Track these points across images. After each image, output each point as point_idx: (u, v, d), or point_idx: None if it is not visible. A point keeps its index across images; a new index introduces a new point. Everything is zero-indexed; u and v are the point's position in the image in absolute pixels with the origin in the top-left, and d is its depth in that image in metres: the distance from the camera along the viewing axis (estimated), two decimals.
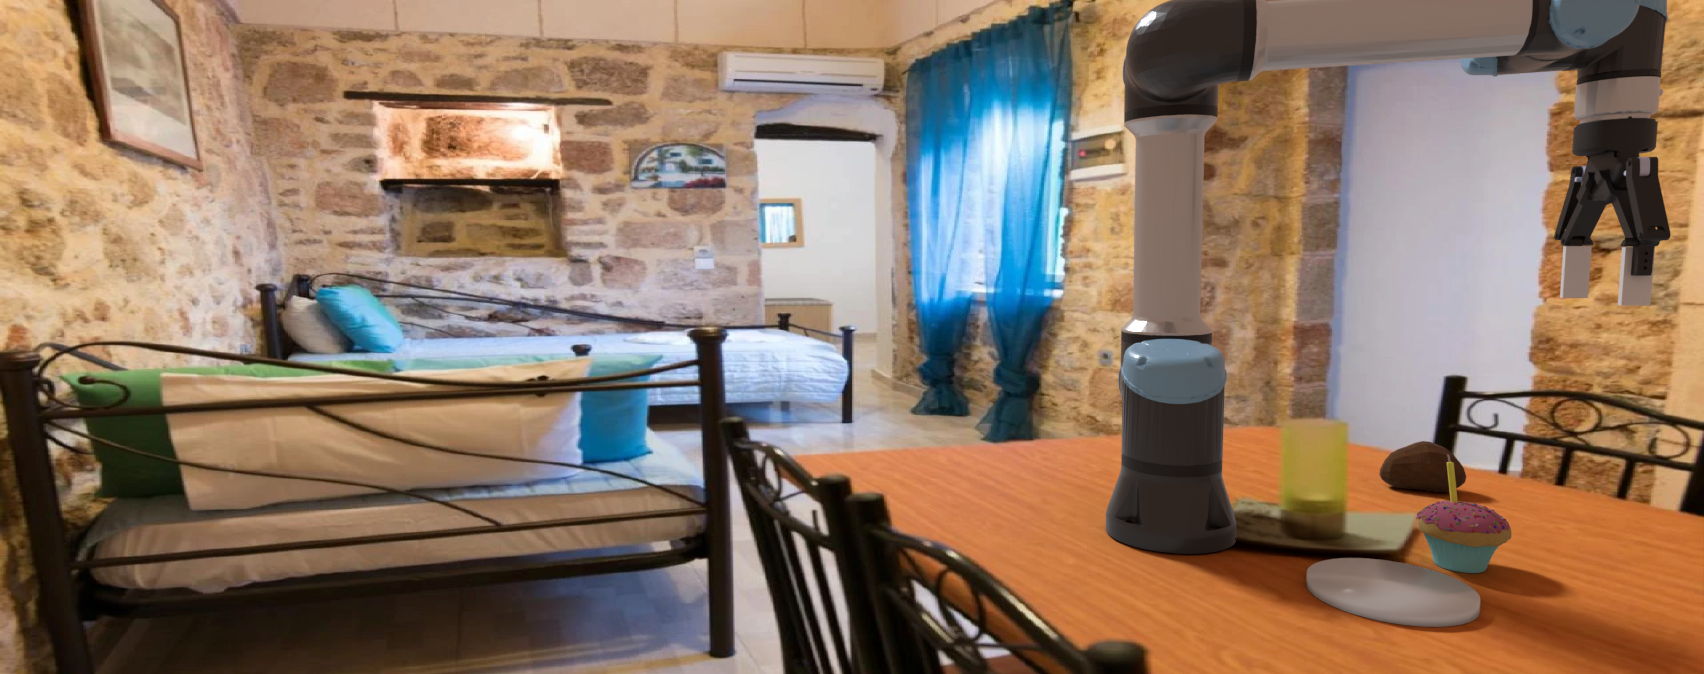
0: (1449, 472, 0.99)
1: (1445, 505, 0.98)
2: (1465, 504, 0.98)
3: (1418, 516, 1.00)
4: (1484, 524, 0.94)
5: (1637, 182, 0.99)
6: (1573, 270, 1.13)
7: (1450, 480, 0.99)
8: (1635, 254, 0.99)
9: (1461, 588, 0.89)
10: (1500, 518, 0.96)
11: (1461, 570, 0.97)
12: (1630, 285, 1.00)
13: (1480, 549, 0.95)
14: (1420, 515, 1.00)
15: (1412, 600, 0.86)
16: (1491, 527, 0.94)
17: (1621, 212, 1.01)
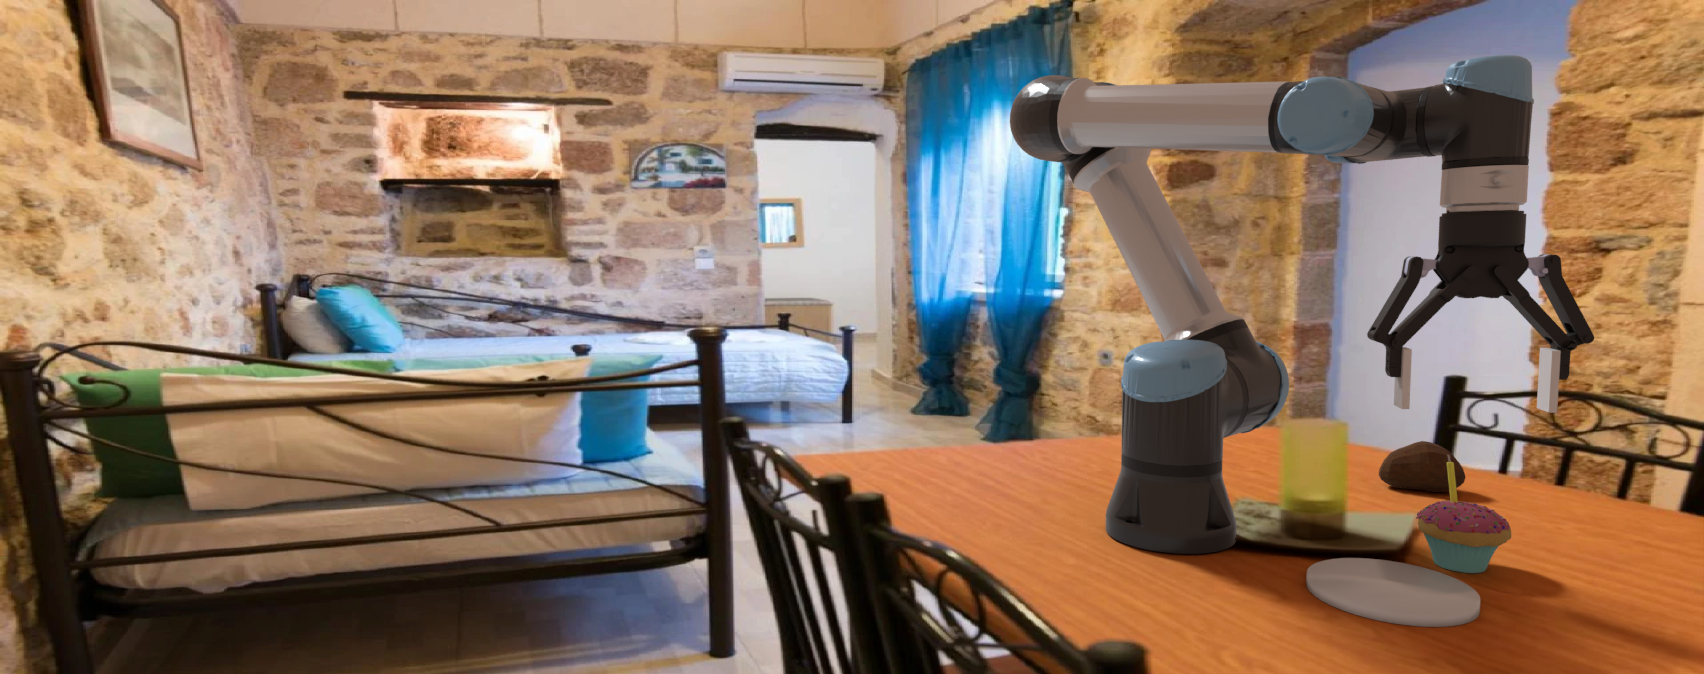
0: (1449, 472, 0.99)
1: (1445, 505, 0.98)
2: (1465, 504, 0.98)
3: (1418, 516, 1.00)
4: (1484, 524, 0.94)
5: (1398, 282, 0.98)
6: (1542, 377, 0.95)
7: (1450, 480, 0.99)
8: None
9: (1461, 588, 0.89)
10: (1500, 518, 0.96)
11: (1461, 570, 0.97)
12: (1396, 385, 0.99)
13: (1480, 549, 0.95)
14: (1420, 515, 1.00)
15: (1412, 600, 0.86)
16: (1491, 527, 0.94)
17: None
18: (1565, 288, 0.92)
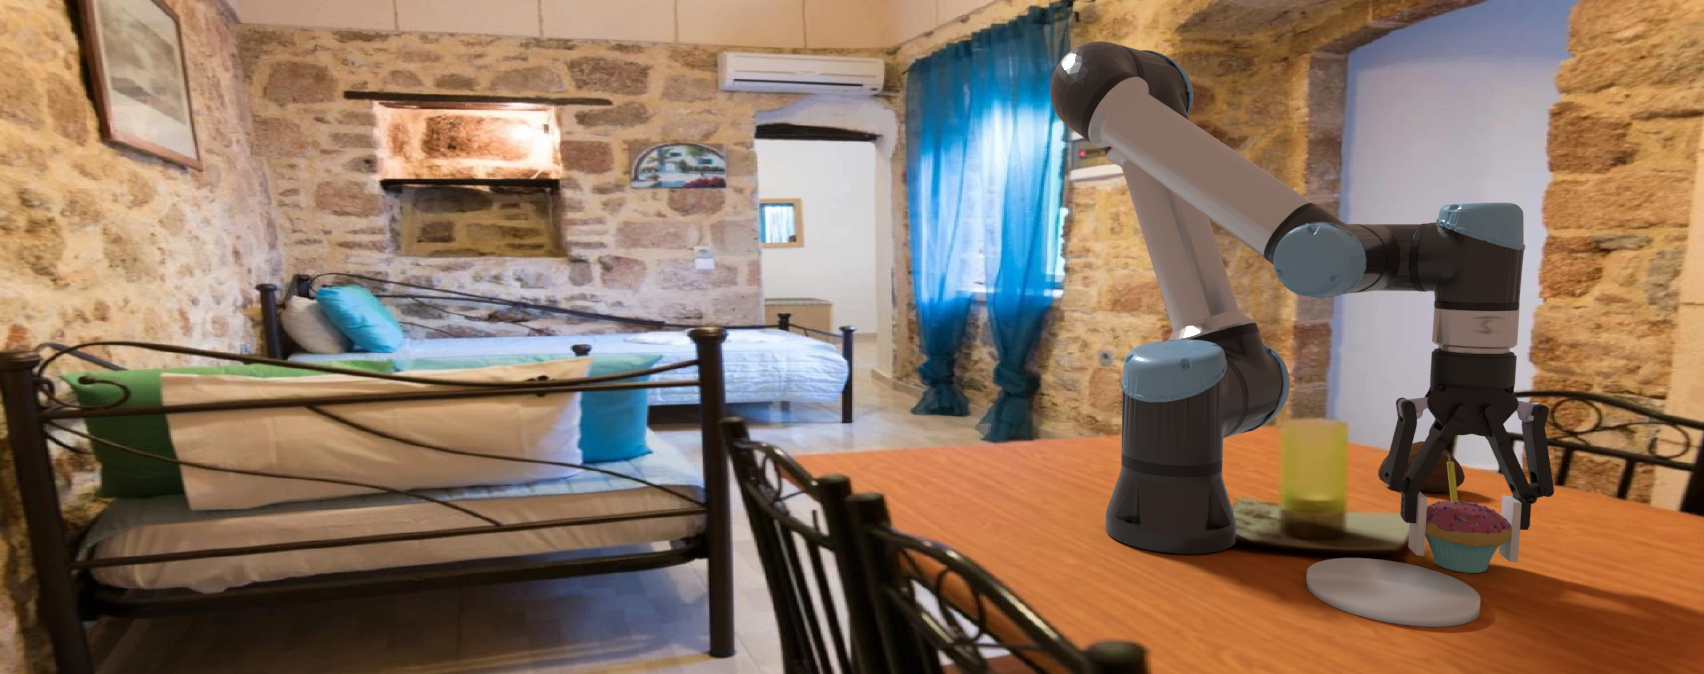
0: (1449, 472, 0.99)
1: (1445, 505, 0.98)
2: (1465, 504, 0.98)
3: None
4: (1484, 523, 0.94)
5: (1397, 424, 1.00)
6: None
7: (1450, 480, 0.99)
8: None
9: (1461, 588, 0.89)
10: (1500, 518, 0.96)
11: (1462, 570, 0.96)
12: (1411, 529, 1.00)
13: (1481, 549, 0.95)
14: None
15: (1412, 600, 0.86)
16: (1491, 527, 0.94)
17: None
18: (1543, 439, 0.94)
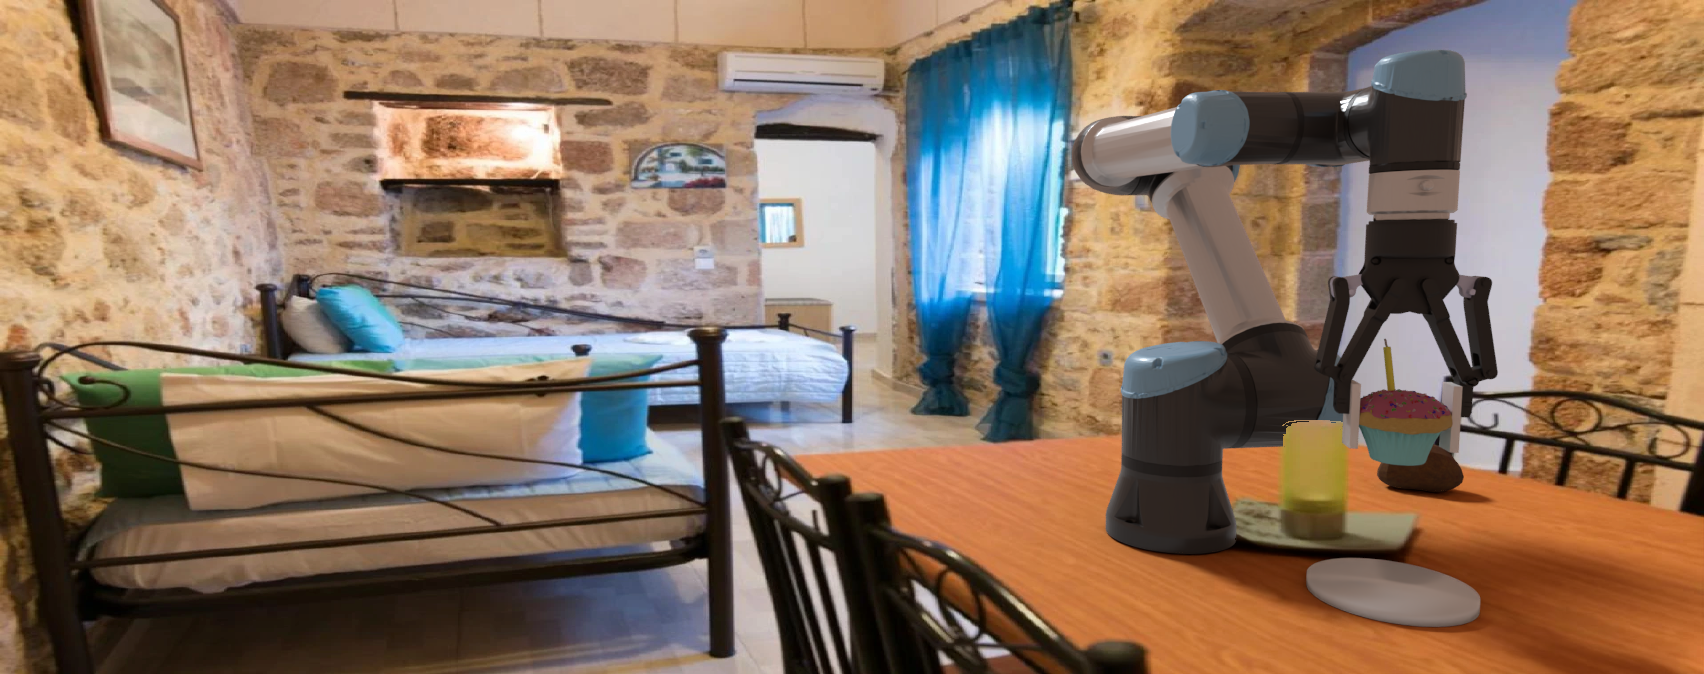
0: (1386, 357, 0.90)
1: (1381, 393, 0.89)
2: (1403, 391, 0.89)
3: None
4: (1422, 409, 0.85)
5: (1329, 306, 0.90)
6: None
7: (1387, 367, 0.90)
8: None
9: (1461, 588, 0.89)
10: (1440, 404, 0.87)
11: (1398, 463, 0.87)
12: (1344, 421, 0.91)
13: (1418, 438, 0.86)
14: None
15: (1412, 600, 0.86)
16: (1430, 412, 0.85)
17: None
18: (1486, 315, 0.85)
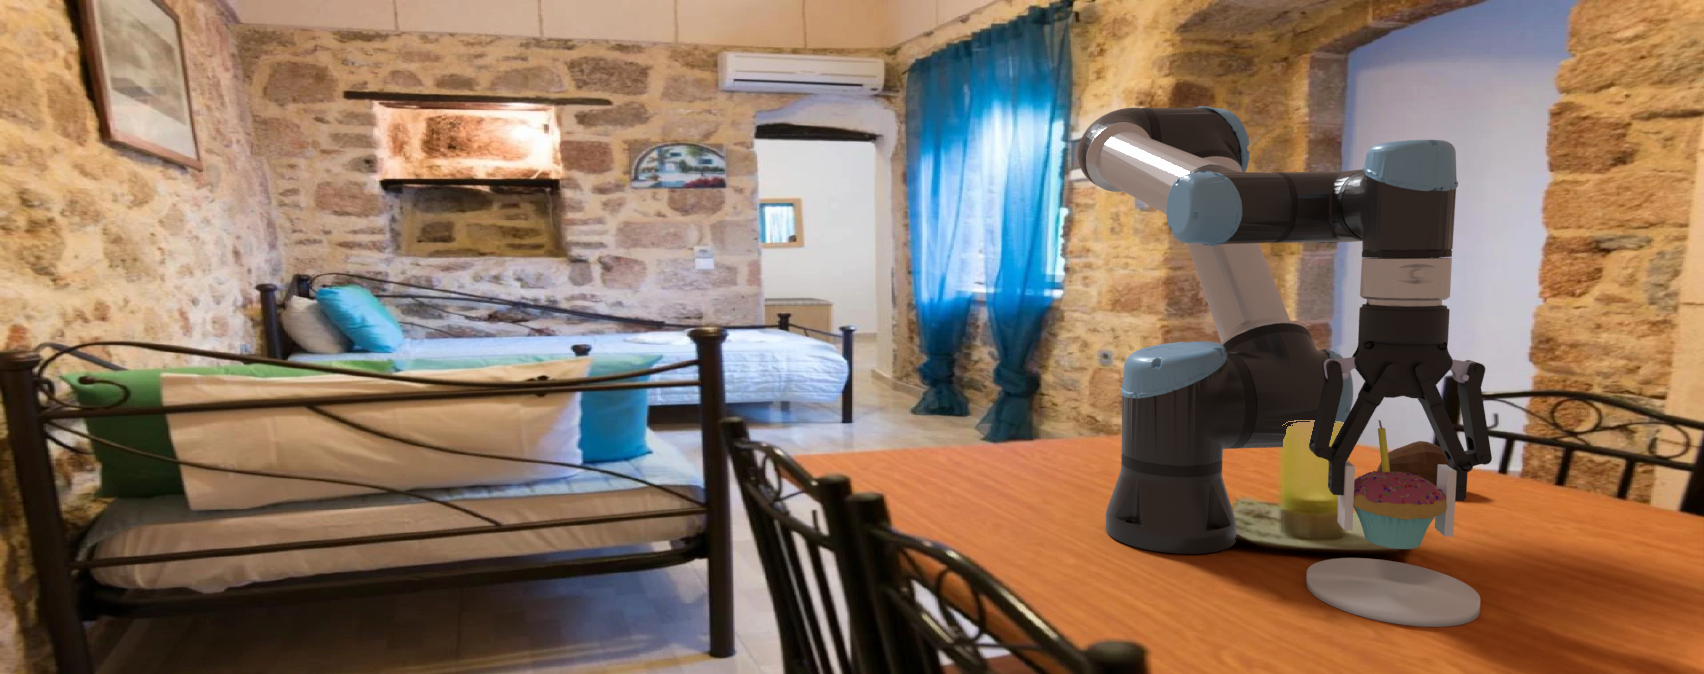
0: (1380, 439, 0.90)
1: (1375, 475, 0.89)
2: (1397, 474, 0.89)
3: None
4: (1415, 494, 0.86)
5: (1323, 387, 0.91)
6: None
7: (1381, 448, 0.90)
8: None
9: (1461, 588, 0.89)
10: (1434, 488, 0.87)
11: (1392, 546, 0.88)
12: (1339, 502, 0.92)
13: (1412, 522, 0.86)
14: None
15: (1412, 600, 0.86)
16: (1423, 497, 0.86)
17: None
18: (1479, 401, 0.86)
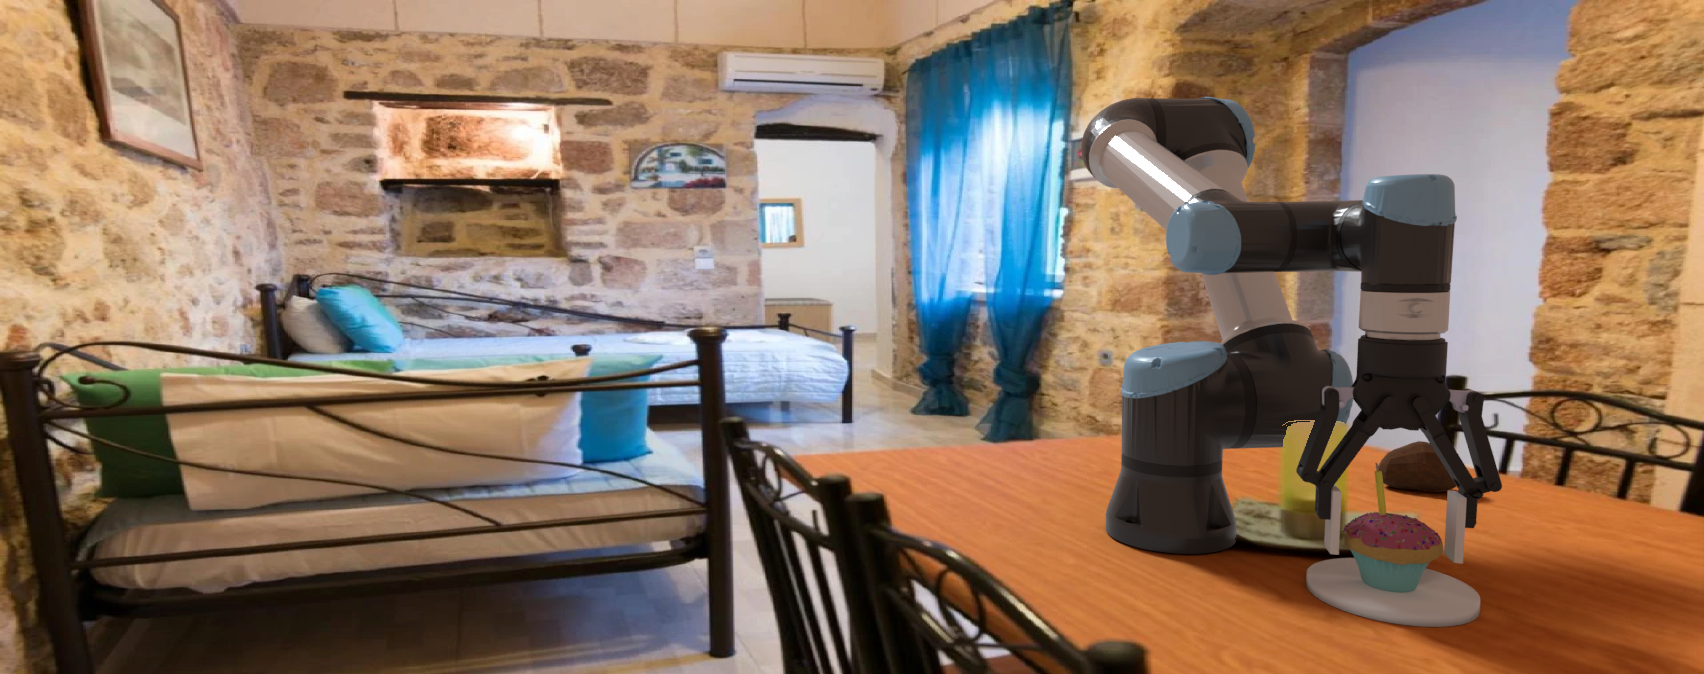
0: (1377, 482, 0.91)
1: (1372, 518, 0.90)
2: (1394, 517, 0.90)
3: (1344, 529, 0.92)
4: (1411, 539, 0.86)
5: (1318, 413, 0.91)
6: (1449, 522, 0.89)
7: (1378, 491, 0.91)
8: None
9: (1461, 588, 0.89)
10: (1430, 532, 0.88)
11: (1388, 589, 0.89)
12: (1326, 525, 0.92)
13: (1408, 567, 0.87)
14: (1346, 528, 0.92)
15: (1412, 600, 0.86)
16: (1419, 543, 0.86)
17: None
18: (1482, 430, 0.86)
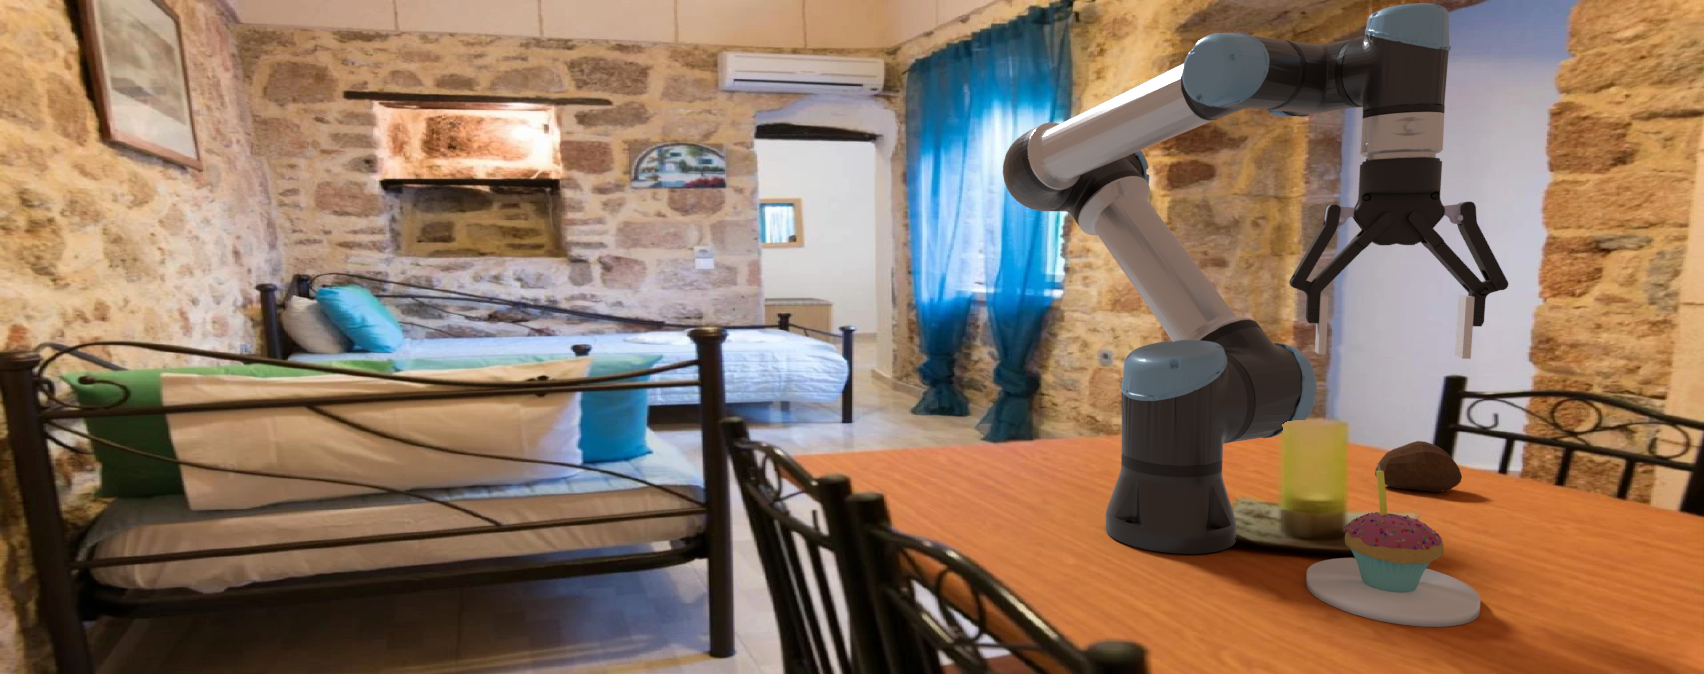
0: (1378, 482, 0.91)
1: (1373, 517, 0.90)
2: (1394, 517, 0.90)
3: (1345, 529, 0.92)
4: (1411, 539, 0.86)
5: (1319, 230, 1.00)
6: (1459, 324, 0.96)
7: (1379, 491, 0.91)
8: None
9: (1461, 588, 0.89)
10: (1431, 533, 0.88)
11: (1388, 589, 0.89)
12: (1316, 331, 1.01)
13: (1408, 567, 0.87)
14: (1347, 528, 0.92)
15: (1412, 600, 0.86)
16: (1419, 542, 0.86)
17: None
18: (1480, 235, 0.93)
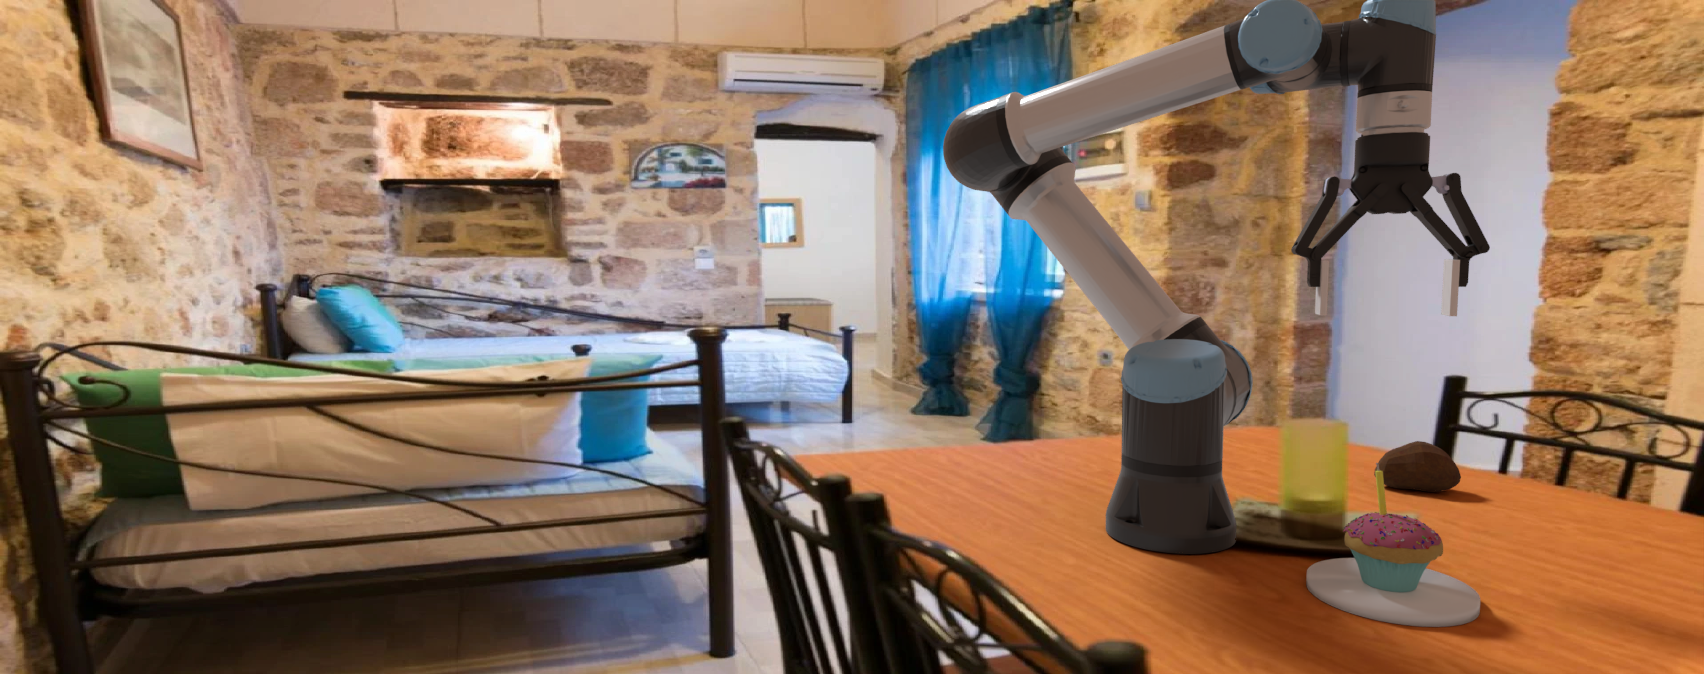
0: (1377, 482, 0.91)
1: (1372, 518, 0.90)
2: (1394, 517, 0.90)
3: (1345, 529, 0.92)
4: (1411, 538, 0.87)
5: (1319, 201, 1.08)
6: (1445, 285, 1.05)
7: (1379, 491, 0.91)
8: None
9: (1461, 588, 0.89)
10: (1430, 532, 0.88)
11: (1388, 589, 0.89)
12: (1316, 295, 1.09)
13: (1407, 566, 0.87)
14: (1346, 528, 0.92)
15: (1412, 600, 0.86)
16: (1419, 542, 0.86)
17: None
18: (1464, 203, 1.03)
